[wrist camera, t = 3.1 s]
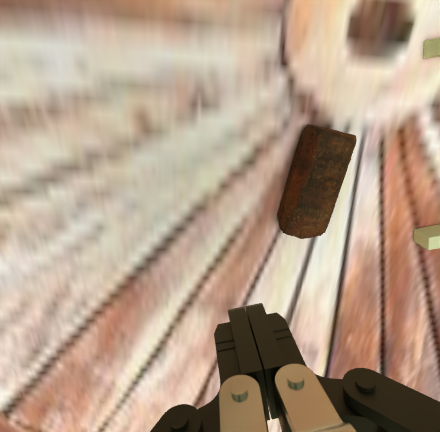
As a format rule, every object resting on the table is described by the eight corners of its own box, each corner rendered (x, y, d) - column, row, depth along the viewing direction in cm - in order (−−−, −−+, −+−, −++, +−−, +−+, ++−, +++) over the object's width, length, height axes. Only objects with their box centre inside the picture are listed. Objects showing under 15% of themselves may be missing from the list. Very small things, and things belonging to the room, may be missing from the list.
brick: (301, 122, 33) (319, 126, 29) (338, 130, 34) (360, 136, 30) (273, 221, 37) (285, 238, 32) (307, 227, 37) (323, 244, 33)
